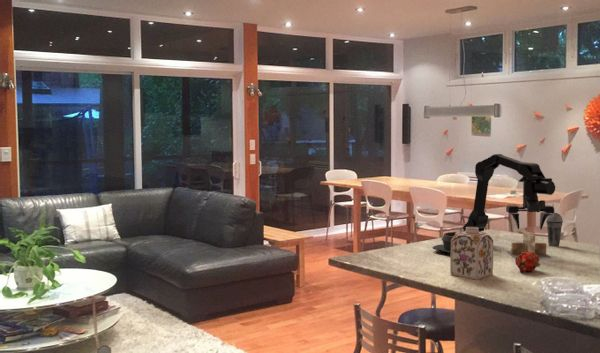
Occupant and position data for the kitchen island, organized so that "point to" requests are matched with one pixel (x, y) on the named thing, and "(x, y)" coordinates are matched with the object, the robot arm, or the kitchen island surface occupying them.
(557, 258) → the kitchen island surface
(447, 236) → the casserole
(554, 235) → the beverage cup
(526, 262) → the dragon fruit
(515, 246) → the walnut board
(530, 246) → the upright wooden plank
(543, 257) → the rubber mat
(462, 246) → the decorative jar
